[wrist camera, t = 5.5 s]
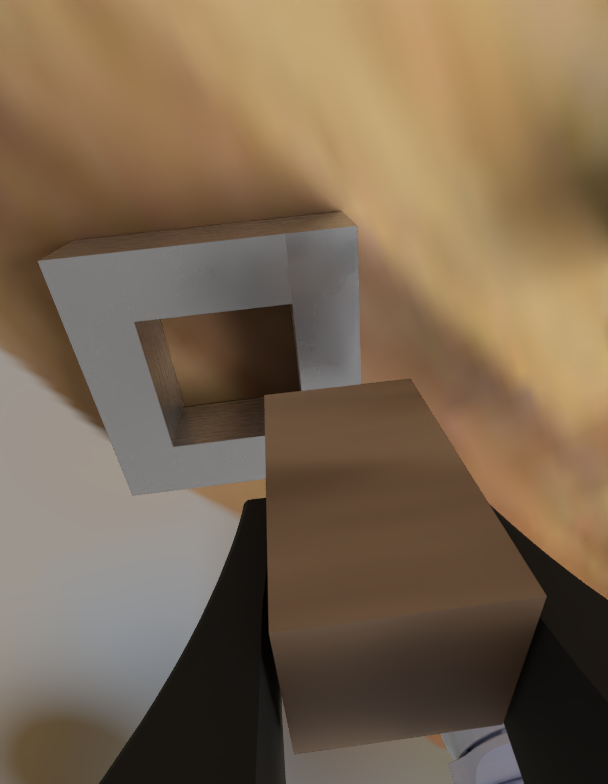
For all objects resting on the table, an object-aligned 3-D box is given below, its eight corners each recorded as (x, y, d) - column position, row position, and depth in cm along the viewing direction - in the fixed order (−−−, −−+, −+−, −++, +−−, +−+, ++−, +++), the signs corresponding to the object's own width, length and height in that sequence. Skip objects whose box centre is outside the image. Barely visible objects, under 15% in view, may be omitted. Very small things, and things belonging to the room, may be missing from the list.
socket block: (350, 426, 21) (362, 466, 19) (148, 451, 21) (132, 495, 19) (341, 211, 16) (357, 225, 14) (73, 240, 16) (37, 260, 13)
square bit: (404, 487, 14) (502, 724, 8) (280, 502, 14) (293, 754, 8) (410, 378, 12) (546, 596, 6) (264, 395, 12) (268, 633, 6)
